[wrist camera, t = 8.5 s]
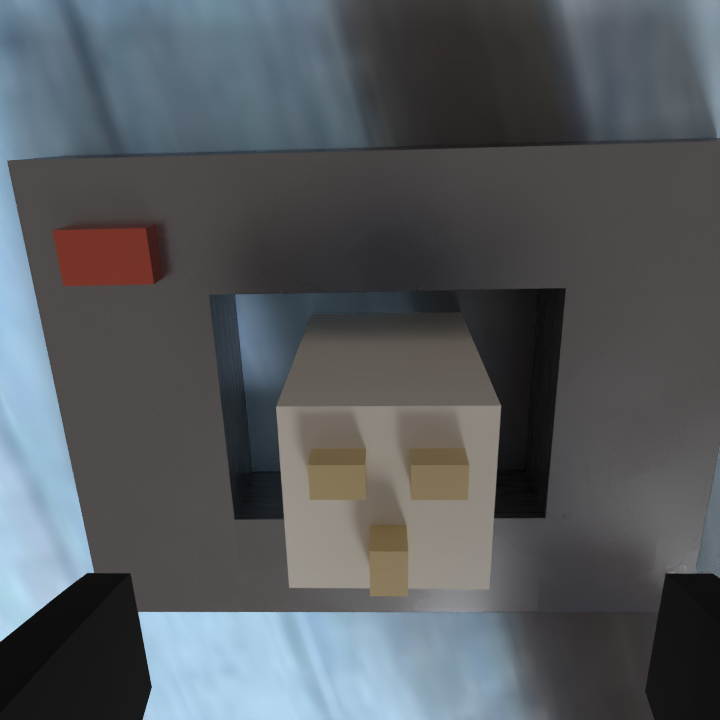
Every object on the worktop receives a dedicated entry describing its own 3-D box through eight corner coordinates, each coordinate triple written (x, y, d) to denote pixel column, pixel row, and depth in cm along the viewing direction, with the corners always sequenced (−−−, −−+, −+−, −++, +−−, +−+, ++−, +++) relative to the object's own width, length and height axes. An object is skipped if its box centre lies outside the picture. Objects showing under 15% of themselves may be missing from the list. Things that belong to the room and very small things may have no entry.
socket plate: (718, 138, 15) (797, 140, 12) (651, 555, 19) (698, 629, 16) (61, 156, 16) (-10, 162, 13) (134, 556, 20) (93, 627, 17)
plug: (461, 312, 17) (509, 426, 10) (455, 445, 18) (495, 618, 12) (311, 313, 17) (267, 426, 10) (317, 445, 18) (283, 616, 12)
